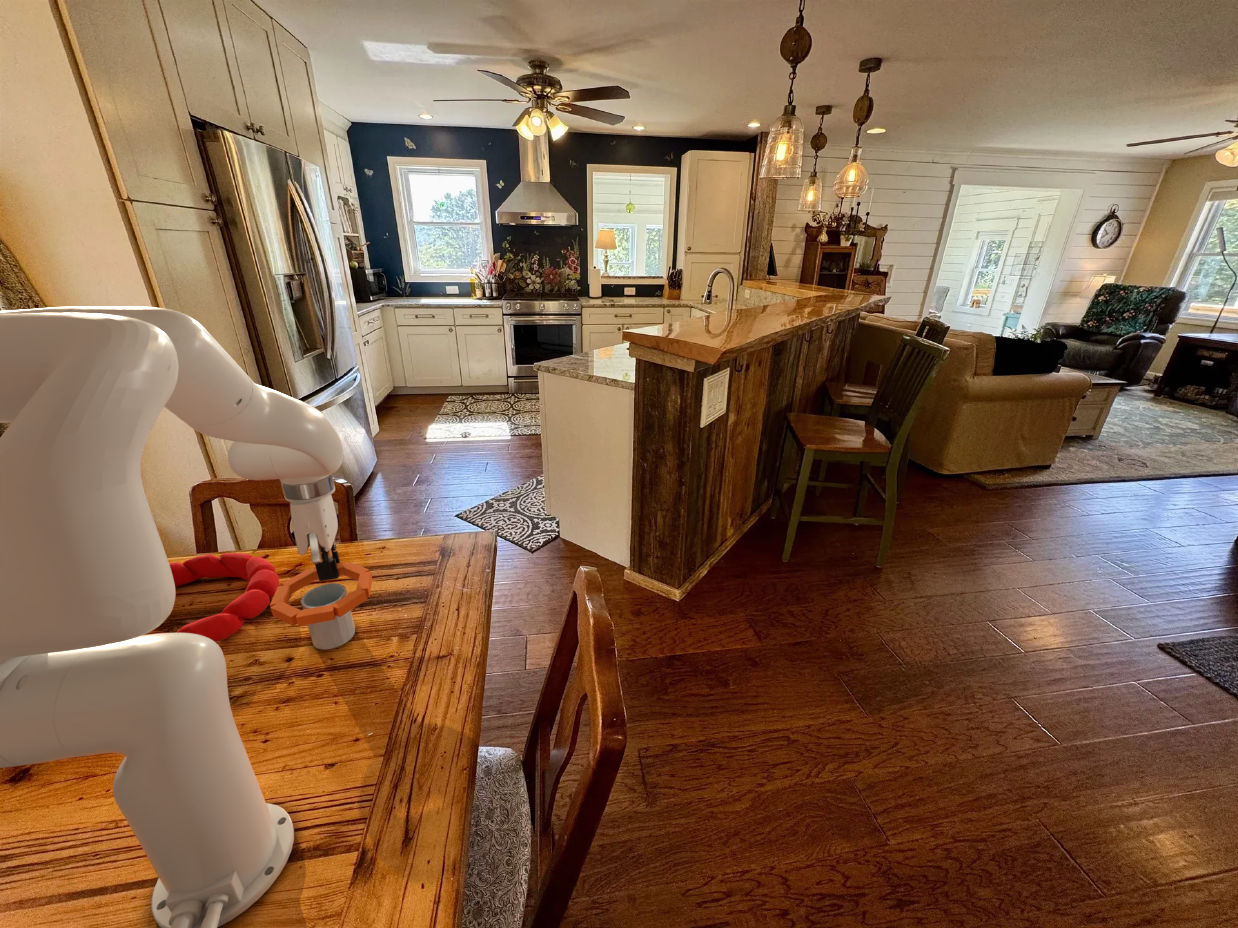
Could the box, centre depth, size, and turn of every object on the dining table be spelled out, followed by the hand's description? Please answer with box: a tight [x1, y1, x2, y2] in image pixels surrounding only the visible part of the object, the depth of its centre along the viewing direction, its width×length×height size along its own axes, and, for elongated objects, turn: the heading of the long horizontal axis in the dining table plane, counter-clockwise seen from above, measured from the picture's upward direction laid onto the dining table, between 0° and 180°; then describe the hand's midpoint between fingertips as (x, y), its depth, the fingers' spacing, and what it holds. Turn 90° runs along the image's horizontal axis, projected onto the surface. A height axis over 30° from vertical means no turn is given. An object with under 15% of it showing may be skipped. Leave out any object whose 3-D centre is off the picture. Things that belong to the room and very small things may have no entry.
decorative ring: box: [156, 552, 280, 643], centre depth 93 cm, size 7×30×30 cm
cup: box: [300, 582, 356, 650], centre depth 87 cm, size 7×7×9 cm
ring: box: [269, 561, 373, 627], centre depth 85 cm, size 15×15×2 cm
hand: (330, 574), depth 91 cm, fingers closed on ring, 1 cm apart
